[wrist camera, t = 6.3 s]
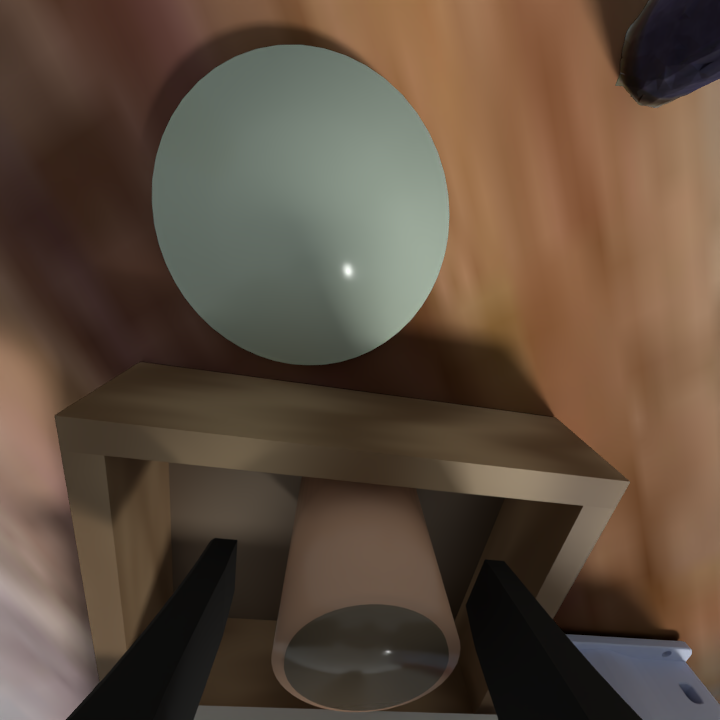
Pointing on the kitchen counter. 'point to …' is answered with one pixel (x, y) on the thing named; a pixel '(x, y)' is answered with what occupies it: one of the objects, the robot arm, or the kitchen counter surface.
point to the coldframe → (280, 495)
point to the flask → (671, 50)
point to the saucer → (300, 204)
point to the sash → (322, 714)
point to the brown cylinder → (362, 600)
